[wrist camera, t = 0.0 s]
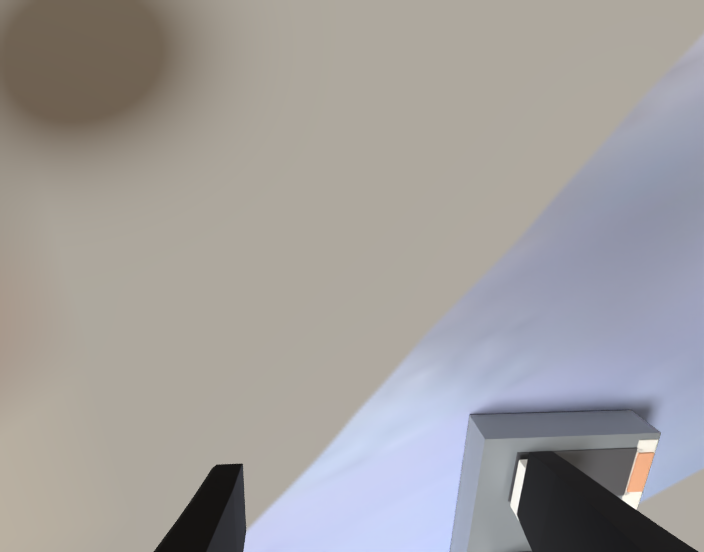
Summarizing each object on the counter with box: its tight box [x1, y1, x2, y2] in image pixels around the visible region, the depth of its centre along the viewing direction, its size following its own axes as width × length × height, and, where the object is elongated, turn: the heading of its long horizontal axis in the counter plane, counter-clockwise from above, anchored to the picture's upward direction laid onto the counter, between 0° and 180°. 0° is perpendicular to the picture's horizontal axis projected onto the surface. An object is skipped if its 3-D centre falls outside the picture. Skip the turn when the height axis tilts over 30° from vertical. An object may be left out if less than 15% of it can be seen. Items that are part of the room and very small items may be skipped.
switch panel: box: [450, 410, 661, 552], centre depth 22 cm, size 12×10×2 cm
